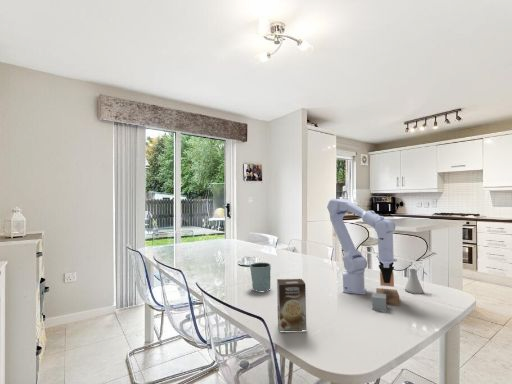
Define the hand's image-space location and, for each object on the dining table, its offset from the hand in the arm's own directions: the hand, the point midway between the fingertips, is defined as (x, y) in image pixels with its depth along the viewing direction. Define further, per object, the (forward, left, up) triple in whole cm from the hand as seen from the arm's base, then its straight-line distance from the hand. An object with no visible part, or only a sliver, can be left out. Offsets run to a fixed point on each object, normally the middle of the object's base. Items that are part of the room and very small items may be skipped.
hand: (386, 280), depth 117 cm
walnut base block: (0, 0, -9) cm, 9 cm away
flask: (+11, +16, -9) cm, 21 cm away
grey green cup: (-56, -4, -9) cm, 57 cm away
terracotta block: (0, 0, -1) cm, 1 cm away
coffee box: (-30, -37, -9) cm, 48 cm away
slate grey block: (-3, -9, -8) cm, 13 cm away
